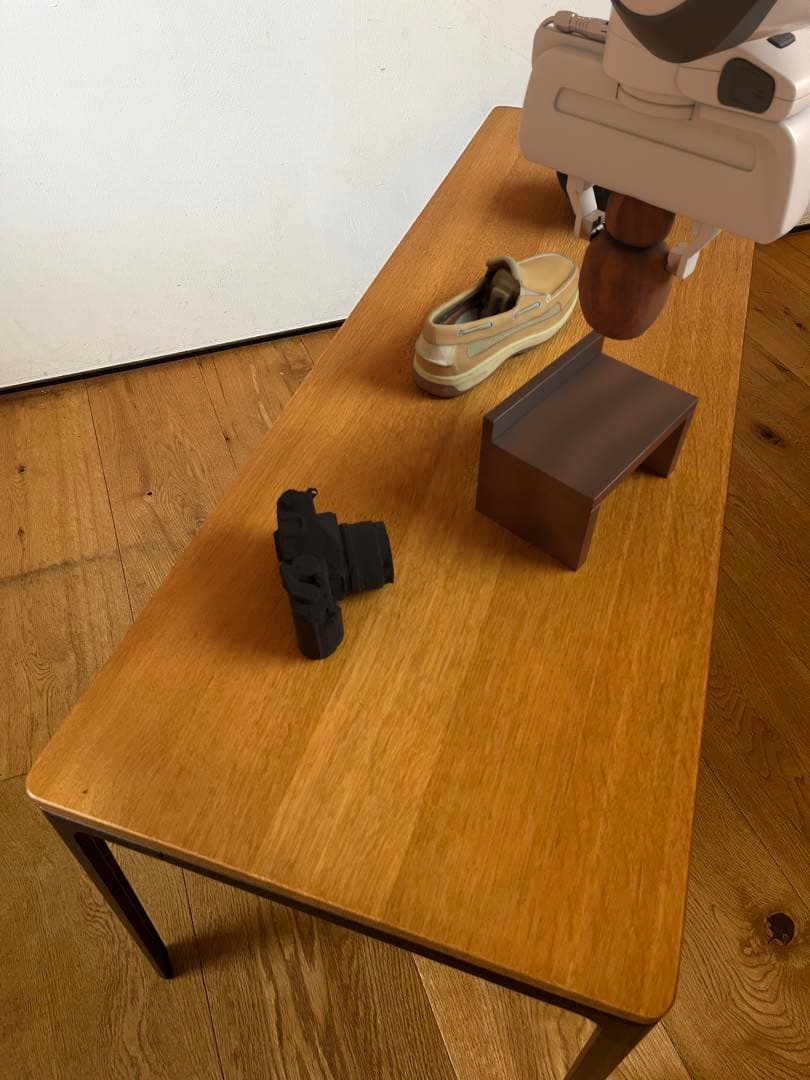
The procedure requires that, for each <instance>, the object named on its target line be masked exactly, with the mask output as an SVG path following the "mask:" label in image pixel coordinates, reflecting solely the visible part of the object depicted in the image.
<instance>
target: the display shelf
mask: <svg viewBox="0 0 810 1080" xmlns="http://www.w3.org/2000/svg"><path fill="white" fill-rule="evenodd" d="M605 338H606V337H604V336H602V335H600V334H599V333H597V332H595V330H594V329H592V330H591V331H590V332H589V333H587V334H585V336H583V337H582V338H581V339H579V340H578V341H577V342H576V343H575V344H573V345H572V346H571V347H569V348H567V350H566V351H563V353H561V354H560V355H559V356H558V357H557V358H555V359H554V360H553V361H551V362H550V363H549V364H548V365H547V366H545V367H544V368H543V369H541V370H540V371H539V372H538V373H536V374H535V375H533V377H531V378H530V379H529V380H528V381H526V382H525V383H524V384H522V385H521V386H519V387H518V388H517V389H516V390H515V391H513V392H512V393H511V394H509V395H508V396H507V397H506V398H505V399H503V400H502V401H501V402H499V403H498V404H496V406H494V407H493V408H492V409H491V410H489V411H488V412H486V413H485V414H484V415H482V426H481V434H480V436H481V437H480V447H479V448H480V449H479V459H478V470H477V479H476V480H477V481H476V492H475V504H474V509H475V510H476V511H478V512H479V513H481V514H483V516H486V517H487V518H489V519H491V520H492V521H494V522H495V523H496V524H498V525H500V526H502V527H503V528H505V529H507V530H508V531H510V532H511V533H513V534H514V535H516V536H518V537H520V538H522V539H523V540H525V541H526V542H527V543H529V544H531V545H533V546H534V547H535V548H537V549H539V550H540V551H542V552H544V553H546V554H547V555H549V556H551V557H552V558H553V559H555V560H557V561H558V562H560V563H561V564H563V565H565V566H567V568H569V569H571V570H573V571H574V572H577V571H578V570H579V569H580V568H581V567H582V566H584V564H585V563H586V561H587V558H588V554H589V550H590V546H591V542H592V540H593V535H594V531H595V527H596V524H597V519H598V517H599V512H600V507H601V504H602V502H603V501H604V500H605V499H606V498H608V497H609V496H610V494H611V493H612V492H613V491H614V490H616V488H618V486H619V485H620V484H621V483H623V481H625V480H626V479H627V478H628V476H630V475H631V473H633V472H634V471H635V470H636V469H637V468H638V467H639V466H640V465H641V466H642V467H644V468H646V469H648V470H650V471H652V472H653V473H656V474H657V475H660V476H662V477H663V478H665V479H667V478H669V477H670V475H671V474H672V473H673V472H674V471H675V469H676V466H677V463H678V460H679V457H680V455H681V452H682V449H683V446H684V443H685V440H686V437H687V435H688V432H689V429H690V426H691V423H692V420H693V417H694V414H695V412H696V409H697V405H698V402H699V399H700V397H698V396H696V395H695V394H692V393H690V392H688V391H685V390H683V389H681V388H679V387H677V386H675V385H672V384H671V383H668V382H666V381H664V380H662V379H660V378H657V377H655V376H653V375H651V374H649V373H647V372H644V371H642V370H640V369H638V368H636V367H634V366H632V365H630V364H627V363H625V362H623V361H621V360H618V359H616V358H615V357H612V356H610V355H608V354H606V353H603V352H602V351H603V348H604V343H605Z"/></svg>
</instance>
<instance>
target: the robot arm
mask: <svg viewBox="0 0 810 1080" xmlns="http://www.w3.org/2000/svg"><path fill="white" fill-rule="evenodd" d="M609 1H610V3H611V6H610V13H609V19H605V18H604V19H603V18H599V17H591V16H590V17H589V16H584V15H583V16H582V15H579V14H578V13H577V12H574V11H571V10H567V9H566V10H565V9H564V10H557V12H555V14H554V15H550V16H548V17H546V18H545V19H544V20H542V21H541V22H540V24H539V26H538V27H537V29H536V30H535V32H534V36H533V42H532V51H531V63H530V64H531V71H530V75H529V78H528V82H527V85H526V89H525V93H524V98H523V102H522V108H521V113H520V117H519V123H518V129H517V130H518V131H517V137H516V139H517V140H516V141H517V144H518V147H519V150H520V153H521V155H522V157H523V159H524V160H526V161H529V162H531V163H534V164H536V165H539V166H542V167H545V168H548V169H551V170H553V171H555V172H556V171H559V172H561V173H564V174H567V175H568V180H567V187H566V189H567V192H568V195H569V198H570V200H569V202H570V201H571V202H570V204H571V207H572V210H573V213H574V215H575V221H574V229H573V236H574V237H576V238H578V239H581V240H583V241H586V242H588V243H590V242H591V241H592V239H593V238H594V237H596V236H597V235H598V234H599V233H600V232H601V231H602V230H603V229H604V228H603V224H602V223H603V222H605V220H604V219H605V212H603V211H600V210H598V209H597V205H596V201H595V196H594V192H593V188H592V186H594V185H598V186H601V187H603V188H606V189H609V190H612V191H615V192H617V193H620V194H625V195H629V196H632V197H634V198H637V199H639V200H642V201H644V202H646V203H648V204H651V205H654V206H657V207H659V208H662V209H665V210H668V211H671V212H673V213H676V215H679V216H682V217H685V218H687V219H691V220H693V222H692V225H691V229H690V234H691V235H694V236H697V237H696V238H695V239H694V240H693V241H692V242H691V243H689V242H686V241H681V242H679V243H678V244H677V245H676V246H675V247H672V248H670V249H671V250H670V251H669V254H668V258H667V261H668V264H667V265H666V266H665V272H667V273H669V274H671V275H674V277H675V278H679V279H681V280H686V278H688V277H689V276H691V274H693V272H694V270H695V268H696V265H697V262H698V259H699V255H700V253H701V251H702V250H703V249H704V248H705V247H706V246H707V245H708V244H709V243H710V242H711V241H713V240H714V239H715V238H716V237H717V236H718V235H719V234H720V233H721V232H722V231H724V232H727V233H729V234H732V235H735V236H738V237H740V238H744V239H746V240H749V241H752V242H754V243H757V244H760V245H768V244H770V243H772V242H774V241H776V240H778V239H780V238H782V237H783V236H784V235H786V234H788V233H789V232H790V231H791V230H792V229H793V228H794V227H795V226H796V225H797V224H799V222H800V221H801V219H802V217H803V216H804V215H805V212H806V211H807V208H808V205H809V202H810V31H809V30H808V28H810V0H609ZM551 24H552V25H551Z"/></svg>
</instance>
